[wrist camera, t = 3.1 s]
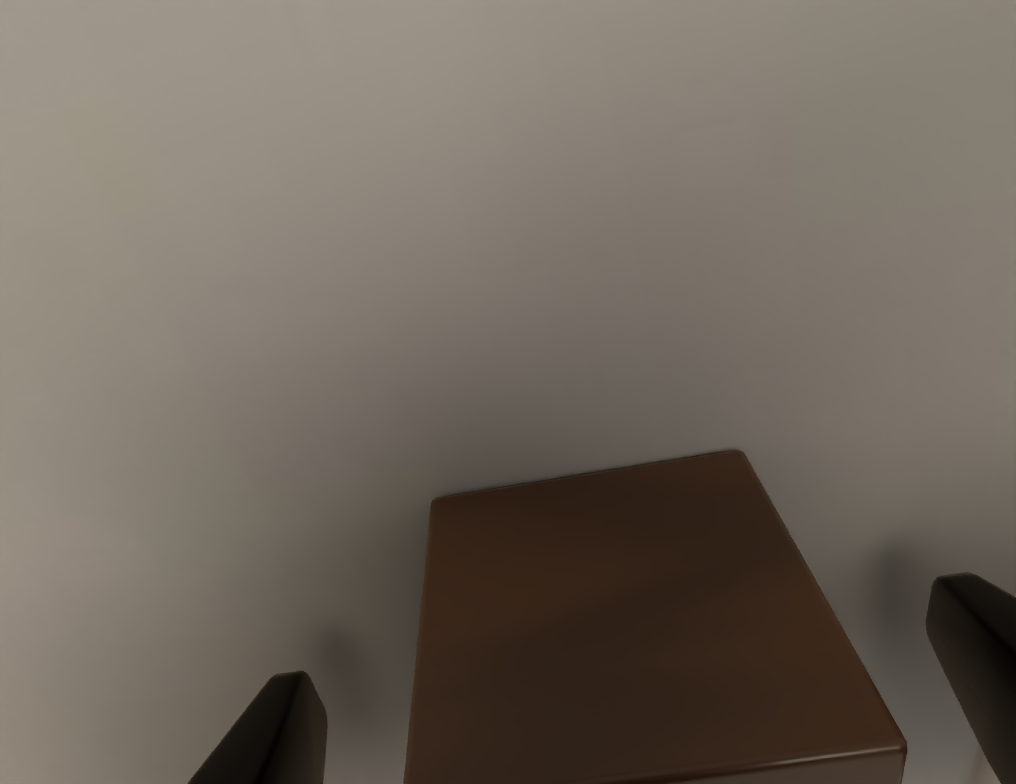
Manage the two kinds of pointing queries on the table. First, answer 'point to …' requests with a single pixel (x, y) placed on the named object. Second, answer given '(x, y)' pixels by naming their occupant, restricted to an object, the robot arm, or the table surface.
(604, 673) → the block
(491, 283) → the table surface
